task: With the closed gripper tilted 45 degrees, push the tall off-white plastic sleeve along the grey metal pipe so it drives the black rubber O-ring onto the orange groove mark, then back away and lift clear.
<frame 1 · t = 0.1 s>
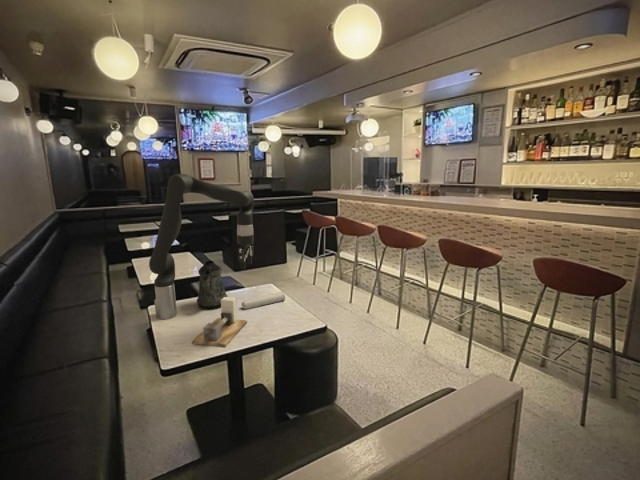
hand: (246, 266, 171), 29 cm above the table, tool pointing down, fingers open, 8 cm apart
pipe stand: (221, 332, 167), on the table
tube: (263, 305, 200), on the table
sleeve: (229, 309, 175), point 7 cm above the table, slide at 0.0 cm
o ring: (226, 318, 172), point 4 cm above the table, slide at 0.0 cm
beer stein: (213, 305, 199), on the table
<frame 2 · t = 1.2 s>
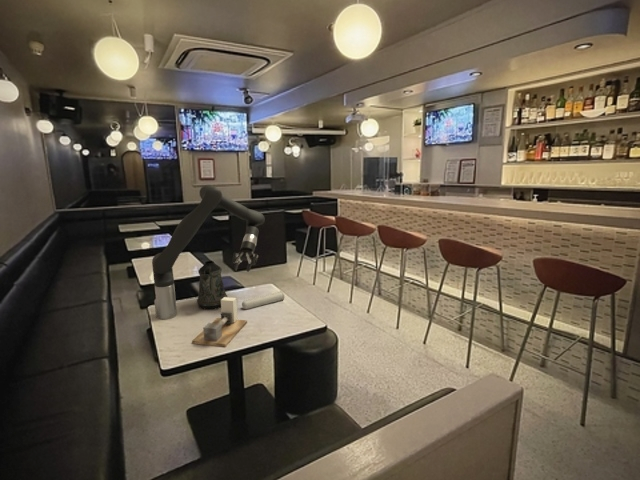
hand: (241, 270, 188), 22 cm above the table, tool tilted 45°, fingers open, 6 cm apart
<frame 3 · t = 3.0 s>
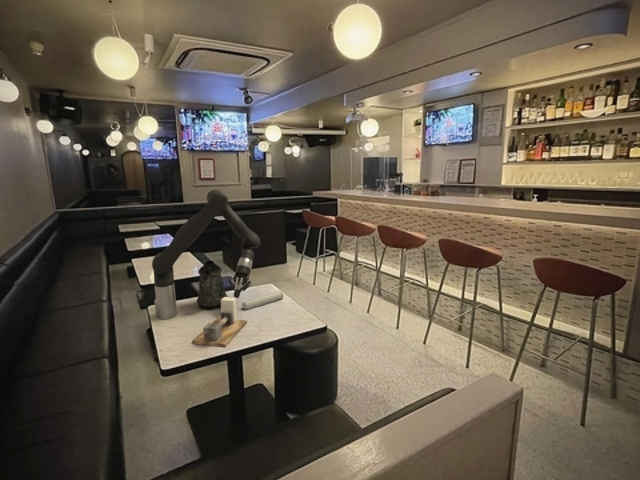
hand: (236, 297, 182), 10 cm above the table, tool tilted 45°, fingers closed
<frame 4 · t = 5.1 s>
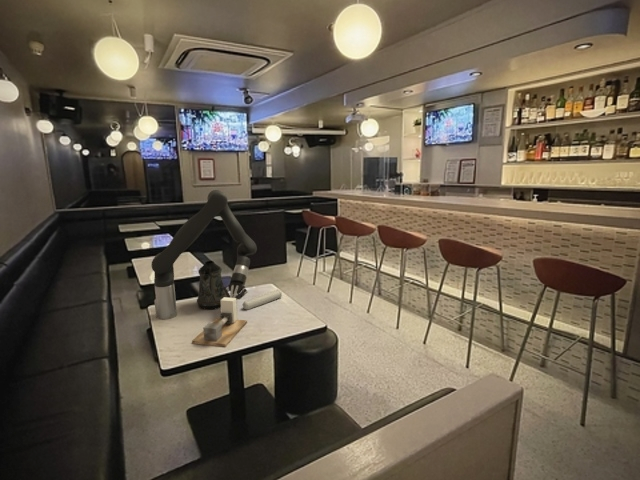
hand: (231, 306, 177), 8 cm above the table, tool tilted 45°, fingers closed
sleeve: (229, 309, 174), point 7 cm above the table, slide at 0.3 cm, touching gripper
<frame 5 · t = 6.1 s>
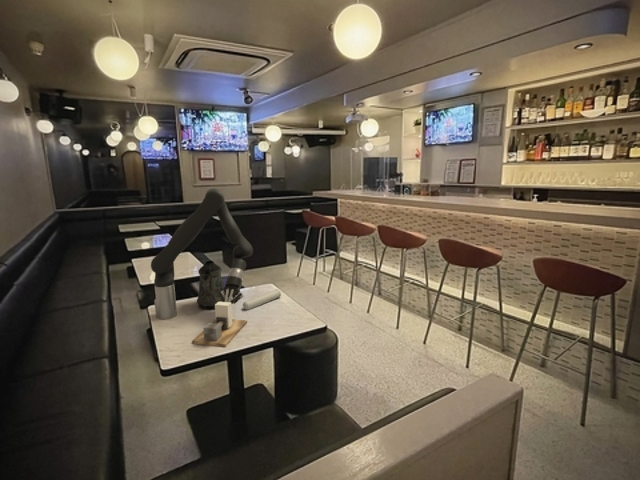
hand: (225, 310, 171), 8 cm above the table, tool tilted 45°, fingers closed
sleeve: (223, 314, 169), point 7 cm above the table, slide at 6.0 cm, touching gripper, o ring
o ring: (221, 322, 167), point 4 cm above the table, slide at 5.1 cm, touching sleeve
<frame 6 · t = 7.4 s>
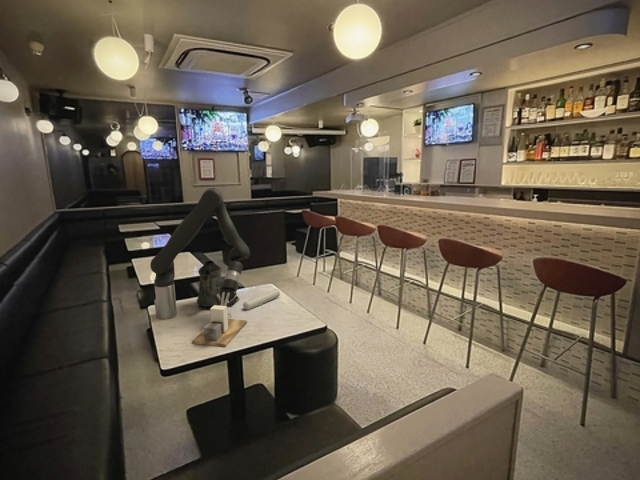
hand: (221, 314, 167), 8 cm above the table, tool tilted 45°, fingers closed
sleeve: (219, 318, 165), point 7 cm above the table, slide at 10.5 cm, touching gripper, o ring
o ring: (217, 327, 163), point 4 cm above the table, slide at 9.6 cm, touching sleeve
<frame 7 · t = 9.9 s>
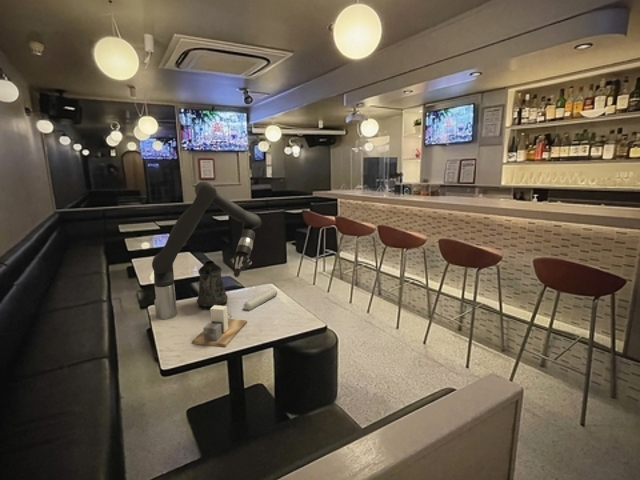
hand: (236, 276, 181), 22 cm above the table, tool tilted 45°, fingers closed
sleeve: (219, 318, 165), point 7 cm above the table, slide at 10.6 cm, touching o ring
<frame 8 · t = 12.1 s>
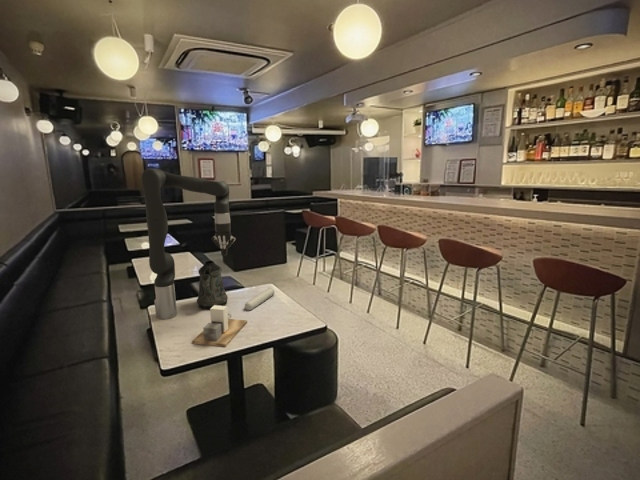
hand: (224, 255, 181), 32 cm above the table, tool pointing down, fingers closed
at the end: o ring slide at 9.7 cm; sleeve slide at 10.6 cm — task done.
